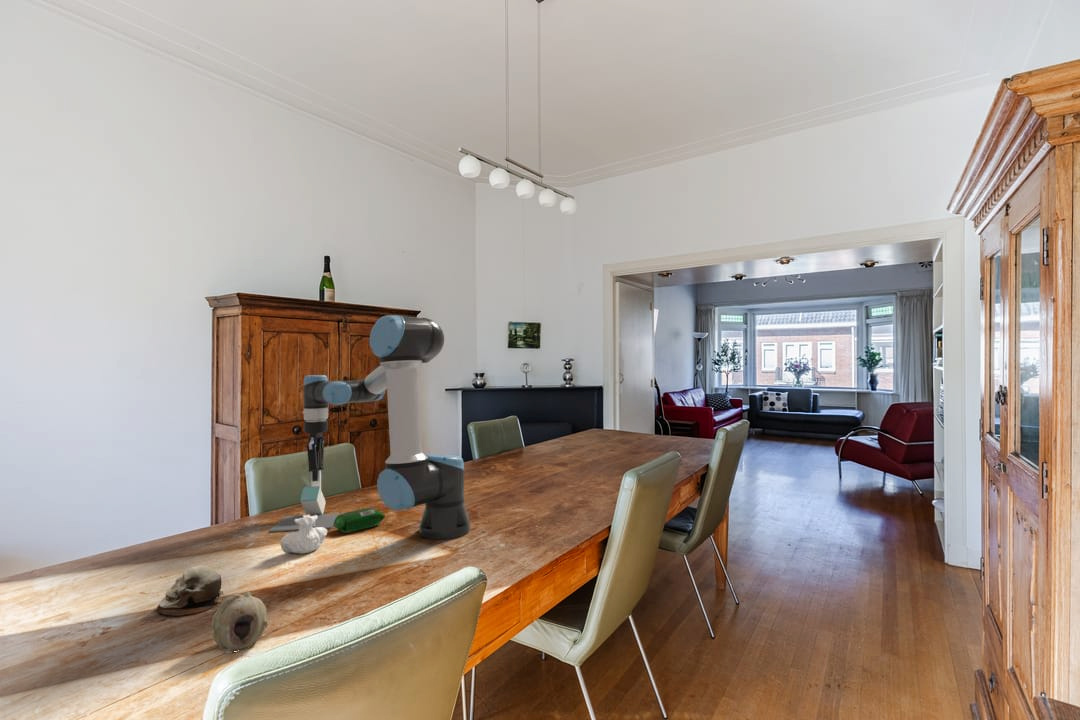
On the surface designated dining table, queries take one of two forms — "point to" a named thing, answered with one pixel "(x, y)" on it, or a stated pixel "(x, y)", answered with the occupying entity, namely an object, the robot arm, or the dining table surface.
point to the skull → (192, 592)
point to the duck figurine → (304, 536)
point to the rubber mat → (291, 525)
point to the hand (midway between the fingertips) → (316, 489)
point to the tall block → (313, 500)
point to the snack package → (358, 520)
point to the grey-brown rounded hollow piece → (239, 622)
